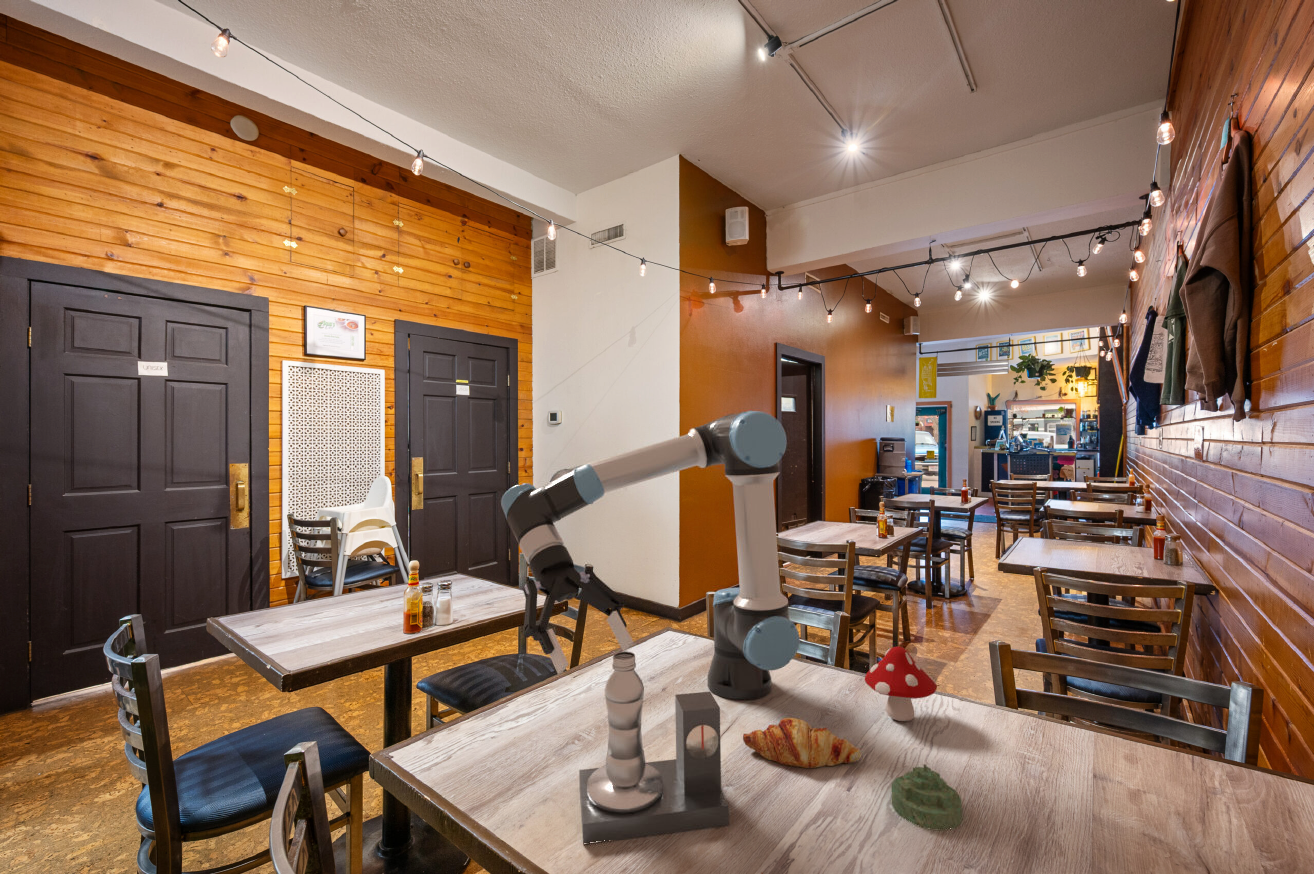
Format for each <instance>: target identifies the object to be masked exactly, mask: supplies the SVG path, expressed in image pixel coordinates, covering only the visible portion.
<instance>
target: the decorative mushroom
mask: <svg viewBox="0 0 1314 874" xmlns="http://www.w3.org/2000/svg"><path fill="white" fill-rule="evenodd" d="M864 682H865V683H866V684H867V686H869V687H870V688H871V689H872V690H873V691H875V692H876V693H878V694H880V695H882V696H883V695H885V696H888V698H887V702H886V704H885V705H886V706H885V711H886V715H888V716H889V717H890V718H891V719H893V720H894V721H899V722H908V721H911V720H912V719H914V718H915V708H914V706H913V705H914V704H913V702H912V700H915V699H924V698H927V697H930V696H932V695H933V694H934V693H936V692H937V688H938V685H937V683H936V681H935V679H933V677H932V676H930V675H929V674H927V673H926V672H925V671H924V669H922V668H921V667H920V665H919V664H918V663H917V662H916V661H915V660H914V658H913V657H912V655H911V654H910V653H909V652H908V650H906V648H904V647H901V646H894V647H891V648H888V649H887V650H886V651H885V654H884V657H882V659H881V660H879V661H878V662H877V663H875V664H874V665H873V666H872V667H871V668H870V669H869V670H868V671H867V672H866V673H865V675H864Z"/></svg>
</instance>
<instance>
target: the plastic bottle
mask: <svg viewBox="0 0 1314 874" xmlns="http://www.w3.org/2000/svg"><path fill="white" fill-rule="evenodd" d="M611 666H612V669H613V672H612V673H611V675H610V676H609V678H608V679H607V681H606V684H605V687H604V698H605V703H606V710H607V721H608V740H607V751H606V757H605V765H604V766H605V767H606V773H607V777H608V779H609V780H610V782H611V783H612V784H613V785H615V786H618V787H631V786H634V785H636V784H638V783H639V782H640V781H641V779H642V778H643V776H644V773H645V766H646V762H647V761H646V756H645V751H644V747H643V735H642V734H643V733H642V717H643V715H642V713H643V705H644V703H643V702H644V697H645V696H644V695H645V686H644V682H643V680H642V679H641V676H640V675H639V674H638V673H637V671H636V670H635V669H636V667H637V663H636V654H635V653H634V652H632V651H627V650H626V651H623V650H622V651H618V652H615V653H614V654H613V655H612V665H611Z"/></svg>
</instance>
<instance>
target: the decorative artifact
mask: <svg viewBox="0 0 1314 874" xmlns="http://www.w3.org/2000/svg"><path fill="white" fill-rule="evenodd" d="M890 790H891V805H892V808H893V810H894V811H895V812H896V814H898V816H900V817H901V818H902V817H903V819H904V820H905V819H906V821H907V822H909V821H910V822H912V823H911V824H913V823H914V824H913V825H915V824H916V825H915V826H917V825H919V826H918V827H920V826H921V828H923V827H925V828H924V829H927V828H930V829H929V830H932V829H938V830H937V831H940V830H939V829H942V830H941V831H946V830H945V829H949V830H953V829H955V828H957V827H958V826H959V825H960V824H961V823H962V820H963V810H962V809H963V808H962V806H963V805H962V798H961V795H960V794H959V792H958V791H956V790H955V788H953V787H952V786H950V785H948V783H947V782H946V781H945V780H944V779H943V778H942V777H941V774H940V772H939V773H938V772H936V771H935V770H932V768H930V767H928V766H927V764H925V763H924V764H923V767H921V766H916V767H912V770H910V771H907V772H906V773H905V774H903V775H902V776H898V777H897V778H895V779H894V780H892V782H891V789H890ZM910 822H909V823H910ZM950 828H951V829H950ZM952 828H953V829H952ZM943 829H944V830H943Z"/></svg>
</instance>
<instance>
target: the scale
mask: <svg viewBox="0 0 1314 874" xmlns="http://www.w3.org/2000/svg"><path fill="white" fill-rule="evenodd" d="M711 692H712V691H701V692H691V693H681V694H674V695H675V696H674V697H675V699H674V701H675V752H676V753H675V757H676V758H675V759H666V760H665V759H664V760H657V761H648V762H647V761H645V762H646V764H648V765H650V766H652V767H654V768H655V769H656V770H657V771H658V772H659V773H660V774H661V776H662V780H663V790H662V793H661V796H660V797H659V798H658V800H657V801H656V802H654V803H653V804H652V805H650V806H648V807H646V808H644V809H641V810H638V811H633V812H611V811H607V810H604V809H601V808H599V807H597V806H596V805H594V804H593V803H592V802H591V801H590V799H589V797H588V794H587V783H588V779H589V777H590V776H591V775H592V774H593V773H594V772H595V771H596V770H597V769H599V768H600V767H596V768H585V769H578V770H579V773H578V775H579V776H578V778H579V780H578V781H579V783H578V784H579V785H578V786H579V798H580V814H581V816H580V817H581V833H582V834H583V835H582V845H583V844H584V843H590V842H596V841H604V840H605V841H609V840H616V841H622V839H623V840H629V839H631V840H632V839H637V838H638V839H639V838H643V837H651V836H658V835H659V836H660V835H666V834H675V833H682V832H688V831H697V830H703V829H713V828H719V827H726V826H729V825H730V814H729V813H730V812H729V810H730V809H729V804H728V801H727V799H726V797H725V795H724V793H723V790H722V764H721V762H722V760H721V758H722V755H721V754H722V752H721V749H722V748H721V707H720V705H719V704H718V702H717V700H716V699H715V697H714V696H713V694H712V693H711ZM609 842H610V841H609Z"/></svg>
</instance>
